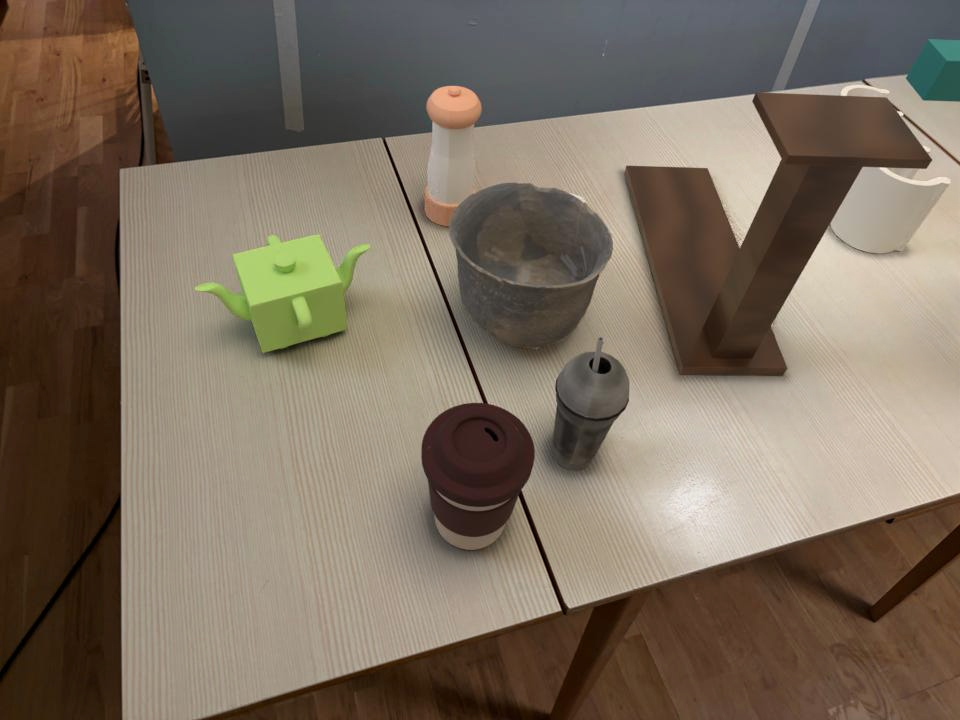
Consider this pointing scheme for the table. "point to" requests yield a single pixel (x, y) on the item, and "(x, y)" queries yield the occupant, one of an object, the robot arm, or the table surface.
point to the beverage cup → (587, 405)
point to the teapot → (290, 290)
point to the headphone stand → (758, 227)
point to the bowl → (528, 261)
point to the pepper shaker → (450, 151)
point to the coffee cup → (475, 471)
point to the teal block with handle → (937, 71)
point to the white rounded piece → (884, 200)
